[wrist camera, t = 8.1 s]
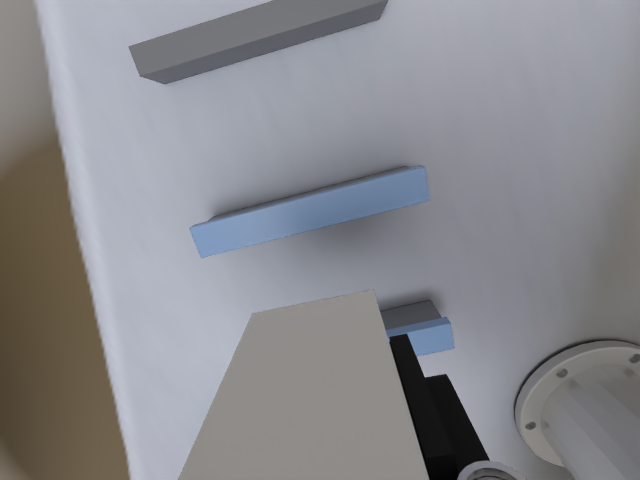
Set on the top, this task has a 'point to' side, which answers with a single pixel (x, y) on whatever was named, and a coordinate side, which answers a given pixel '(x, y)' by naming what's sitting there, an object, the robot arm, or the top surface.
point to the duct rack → (311, 207)
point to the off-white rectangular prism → (310, 401)
